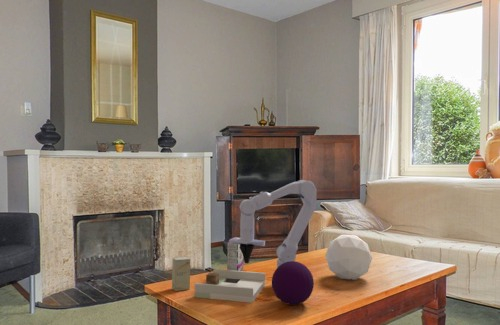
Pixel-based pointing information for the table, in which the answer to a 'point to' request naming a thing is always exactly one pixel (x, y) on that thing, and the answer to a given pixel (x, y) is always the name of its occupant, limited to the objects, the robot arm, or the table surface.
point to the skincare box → (181, 273)
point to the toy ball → (292, 283)
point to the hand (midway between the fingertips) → (246, 262)
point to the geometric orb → (348, 257)
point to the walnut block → (212, 278)
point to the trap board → (233, 286)
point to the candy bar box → (234, 257)
